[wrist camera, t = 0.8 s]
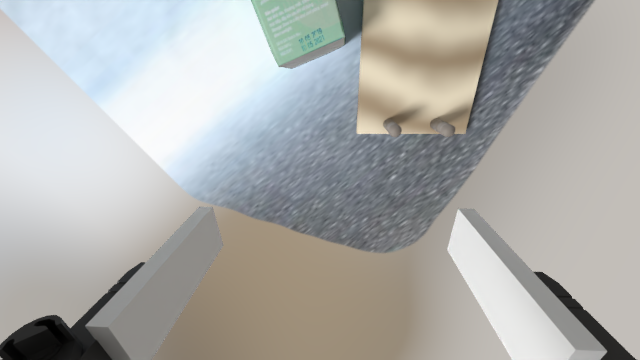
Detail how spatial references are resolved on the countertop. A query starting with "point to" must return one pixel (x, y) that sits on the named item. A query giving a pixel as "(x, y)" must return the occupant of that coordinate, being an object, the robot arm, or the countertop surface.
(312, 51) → the box
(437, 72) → the tray
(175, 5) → the countertop surface
